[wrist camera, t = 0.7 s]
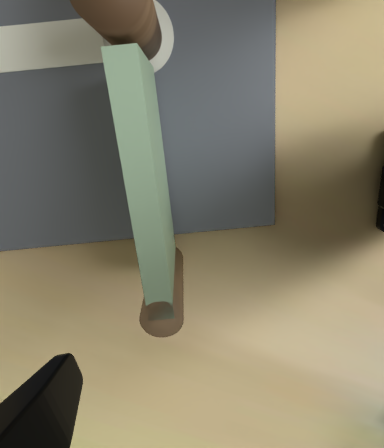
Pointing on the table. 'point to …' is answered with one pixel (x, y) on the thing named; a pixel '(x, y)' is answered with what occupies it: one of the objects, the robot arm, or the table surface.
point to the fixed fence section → (123, 22)
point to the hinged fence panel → (146, 185)
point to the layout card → (105, 130)
